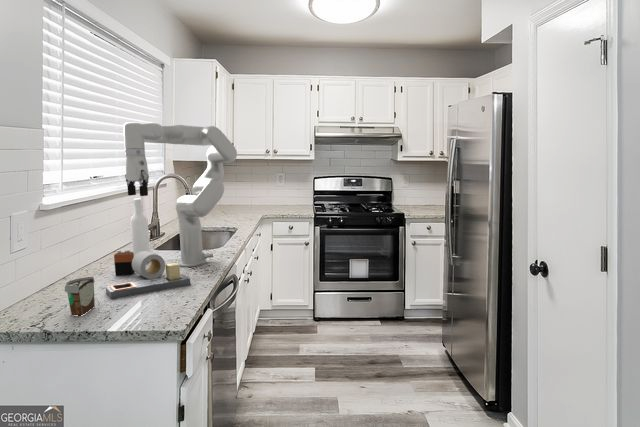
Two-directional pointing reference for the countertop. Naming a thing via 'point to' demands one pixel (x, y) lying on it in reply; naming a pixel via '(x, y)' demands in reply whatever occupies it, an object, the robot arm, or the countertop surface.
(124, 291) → the rail
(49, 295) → the countertop surface
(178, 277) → the tan wooden block
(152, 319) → the countertop surface
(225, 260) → the countertop surface
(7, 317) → the countertop surface
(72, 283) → the food container
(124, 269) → the battery
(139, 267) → the toilet paper
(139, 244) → the bottle
